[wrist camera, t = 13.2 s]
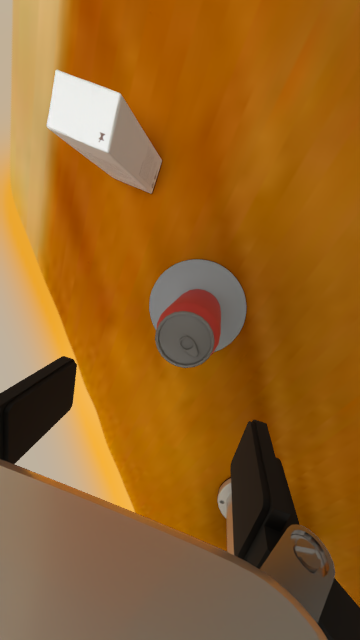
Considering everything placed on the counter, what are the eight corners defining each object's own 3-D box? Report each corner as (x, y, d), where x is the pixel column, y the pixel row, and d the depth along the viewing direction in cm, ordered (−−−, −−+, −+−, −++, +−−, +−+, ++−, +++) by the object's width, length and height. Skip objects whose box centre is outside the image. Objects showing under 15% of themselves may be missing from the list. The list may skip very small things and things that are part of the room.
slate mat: (263, 325, 31) (264, 327, 30) (182, 365, 35) (181, 368, 34) (213, 238, 29) (213, 238, 28) (134, 292, 33) (131, 293, 32)
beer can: (193, 340, 33) (177, 384, 21) (166, 306, 32) (135, 332, 21) (230, 316, 31) (235, 350, 19) (202, 278, 30) (190, 290, 19)
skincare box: (163, 160, 28) (123, 92, 17) (152, 195, 29) (108, 155, 18) (121, 142, 28) (53, 65, 17) (112, 178, 30) (44, 128, 18)
